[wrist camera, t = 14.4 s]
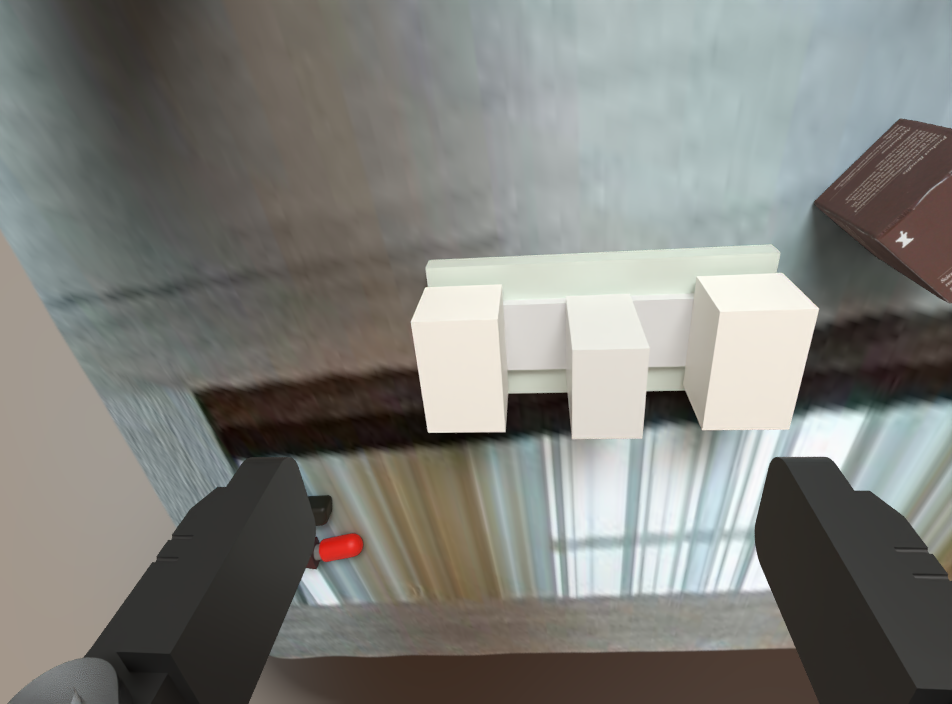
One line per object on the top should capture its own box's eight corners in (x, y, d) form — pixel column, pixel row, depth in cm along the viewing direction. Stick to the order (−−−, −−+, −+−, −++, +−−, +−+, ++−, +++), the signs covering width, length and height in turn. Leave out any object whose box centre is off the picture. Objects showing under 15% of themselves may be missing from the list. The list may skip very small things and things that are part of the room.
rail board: (445, 383, 43) (430, 444, 36) (429, 260, 38) (408, 306, 31) (746, 377, 40) (785, 442, 34) (771, 244, 35) (823, 291, 29)
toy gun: (272, 568, 56) (251, 611, 52) (260, 481, 50) (235, 522, 46) (366, 582, 56) (353, 626, 52) (365, 496, 50) (350, 538, 46)
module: (566, 378, 39) (571, 443, 33) (565, 296, 36) (572, 350, 30) (624, 377, 38) (641, 442, 32) (629, 293, 35) (649, 348, 29)
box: (873, 258, 35) (948, 308, 29) (808, 201, 34) (872, 241, 27) (968, 178, 32) (1074, 214, 26) (901, 113, 31) (996, 134, 24)
